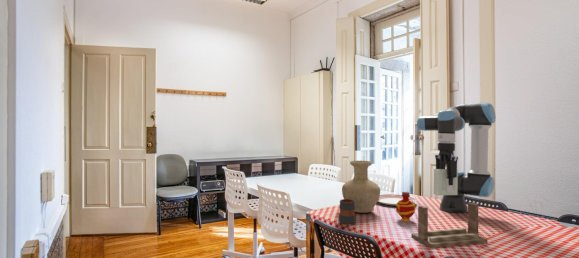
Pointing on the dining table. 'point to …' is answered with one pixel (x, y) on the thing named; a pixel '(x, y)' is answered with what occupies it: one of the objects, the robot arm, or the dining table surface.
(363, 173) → the vase
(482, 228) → the dining table surface
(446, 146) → the robot arm
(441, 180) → the cream rectangular block
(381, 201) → the dinner plate
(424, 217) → the wooden rack
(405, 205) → the potion bottle
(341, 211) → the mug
